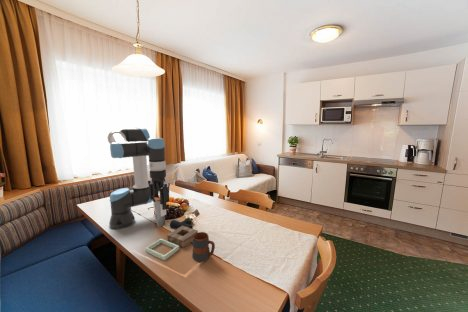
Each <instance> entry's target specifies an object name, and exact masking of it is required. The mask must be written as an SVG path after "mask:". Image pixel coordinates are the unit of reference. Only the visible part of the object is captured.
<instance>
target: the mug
mask: <svg viewBox="0 0 468 312" xmlns="http://www.w3.org/2000/svg"><path fill="white" fill-rule="evenodd" d="M209 238H210V237H209V234H208V233H207V232H205V231H198V233H196V234H194V235H193V241H192V259H193V260H194V261H196V262H197V263H204V262H206V261H208V259H209V258H210V257H211V256H213V255H214V252H215V250H216V245H215V242H214V241H213V240H210V239H209ZM209 244H210V245H211V249H210V245H209Z"/></svg>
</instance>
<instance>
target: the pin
mask: <svg viewBox="0 0 468 312" xmlns="http://www.w3.org/2000/svg"><path fill="white" fill-rule="evenodd" d="M154 200H155V203H156V214H155V215H156V217H155V218H156V226H157V227H159V228H161V227H163V226H166V215H164V216H161V208H160V203H161V198H160V194H158V196H155V197H154Z"/></svg>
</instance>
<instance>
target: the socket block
mask: <svg viewBox="0 0 468 312" xmlns="http://www.w3.org/2000/svg"><path fill="white" fill-rule="evenodd" d="M198 232H199V230H198V229H197V230H196V229H194V228H193V229H191V228H188V227H185V226H181V227H179V228H178V229H174V230H173V231H172V232H170V233H168V234H167V235H166V236H167V237H166V238H167V239H166V240H167V241H168V242H171V243H173V244H176V245H178V246H179V248H185V247H187V246H188V245H189V244H191V243H193V235H194V234H196V233H198Z"/></svg>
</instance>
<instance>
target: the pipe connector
mask: <svg viewBox="0 0 468 312" xmlns="http://www.w3.org/2000/svg"><path fill="white" fill-rule="evenodd" d="M193 220H194V218H193V217H190V216H189V217H188V216H187V217H186V218H185V219H184V220H181V221H179V220H175V219H172V220H171V221H170V222H169V227H170V228H172V229H174V230H176V229H178V228H179V227H181V226H185V227H188V228H191V229H194V227H193V225H192V224H194V222H193Z"/></svg>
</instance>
